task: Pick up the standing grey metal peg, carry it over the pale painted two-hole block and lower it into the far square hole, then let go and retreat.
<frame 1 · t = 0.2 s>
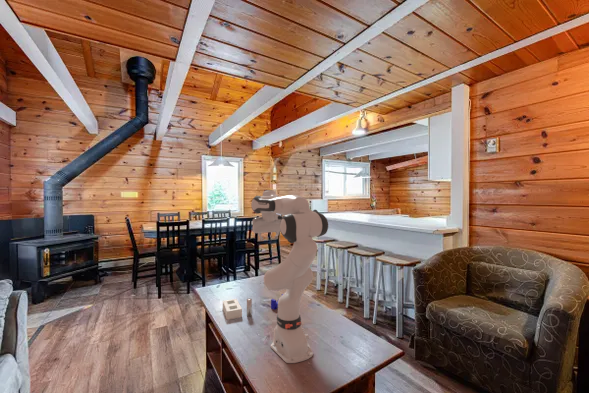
hand: (268, 239, 156), 47 cm above the table, fingers open, 8 cm apart
hole block: (232, 312, 161), on the table
peg: (249, 315, 158), on the table
cable clip: (277, 306, 172), on the table
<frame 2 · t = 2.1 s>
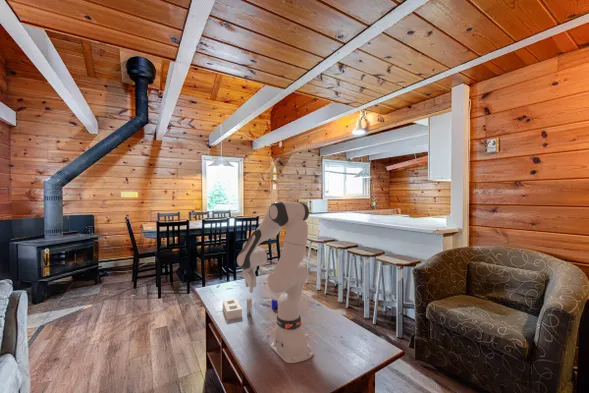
hand: (249, 289, 157), 16 cm above the table, fingers open, 8 cm apart
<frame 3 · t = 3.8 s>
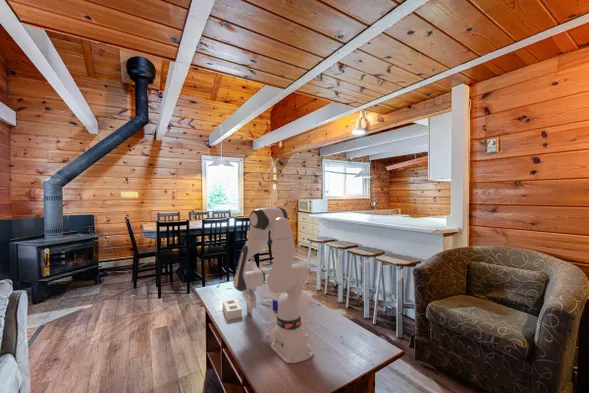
hand: (249, 309, 157), 4 cm above the table, fingers closed on peg, 3 cm apart
peg: (249, 315, 158), on the table, touching gripper
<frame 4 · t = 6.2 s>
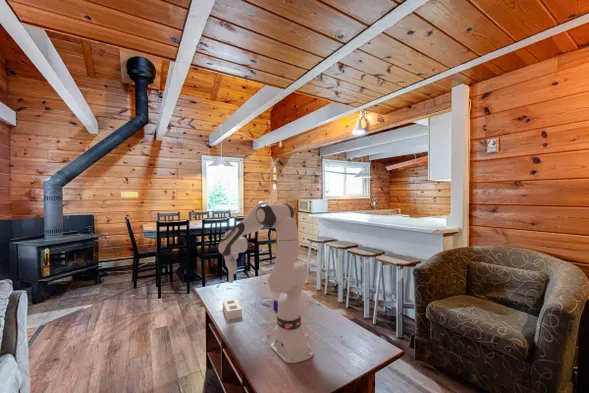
hand: (230, 276, 164), 22 cm above the table, fingers closed on peg, 3 cm apart
peg: (230, 282, 164), point 18 cm above the table, touching gripper
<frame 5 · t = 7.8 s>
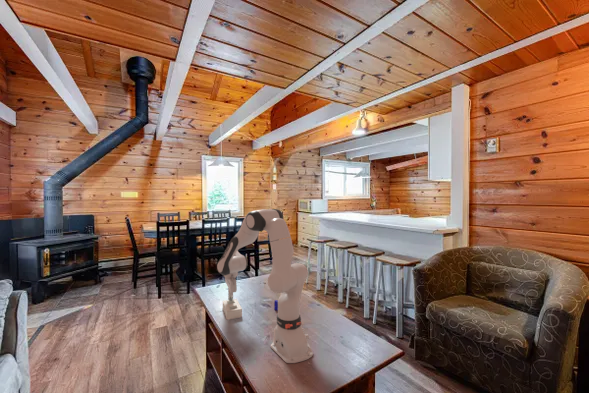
hand: (230, 294, 165), 10 cm above the table, fingers closed on peg, 3 cm apart
peg: (230, 299, 165), point 7 cm above the table, touching gripper
when the fingers open (6 cm above the table, at t = 8.8 s): peg drops 2 cm, resting in hole block.
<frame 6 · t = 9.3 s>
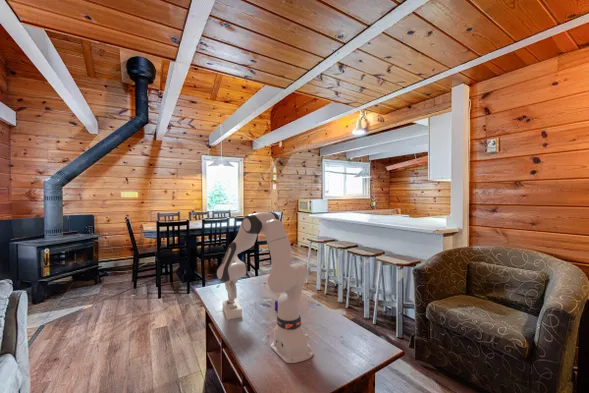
hand: (230, 300, 165), 6 cm above the table, fingers open, 8 cm apart
peg: (230, 309, 165), resting in hole block
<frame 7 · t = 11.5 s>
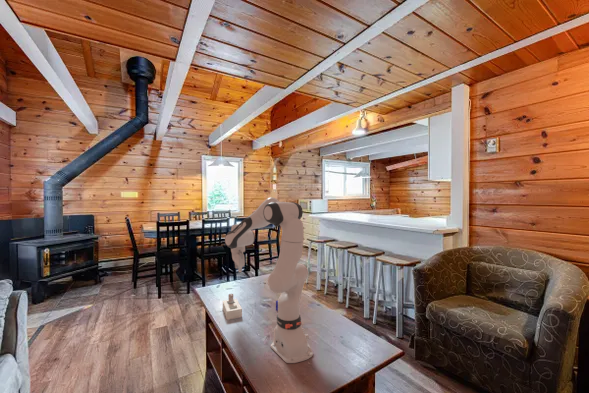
hand: (238, 270, 164), 26 cm above the table, fingers open, 8 cm apart
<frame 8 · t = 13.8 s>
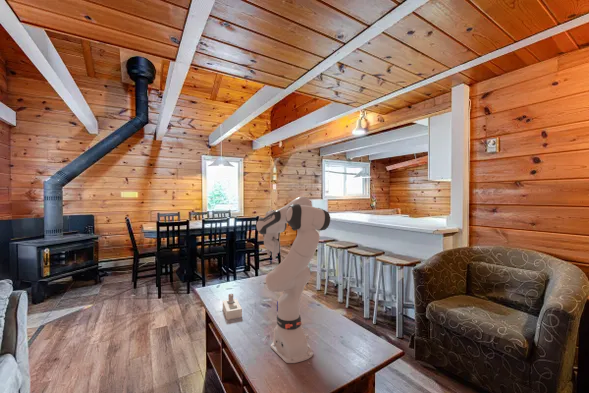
hand: (271, 257, 165), 34 cm above the table, fingers open, 8 cm apart
at the end: peg 0.1 cm from the target spot on the hole block, point 0.0 cm above the hole block's base; peg tilted 0°; the gripper is holding nothing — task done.
